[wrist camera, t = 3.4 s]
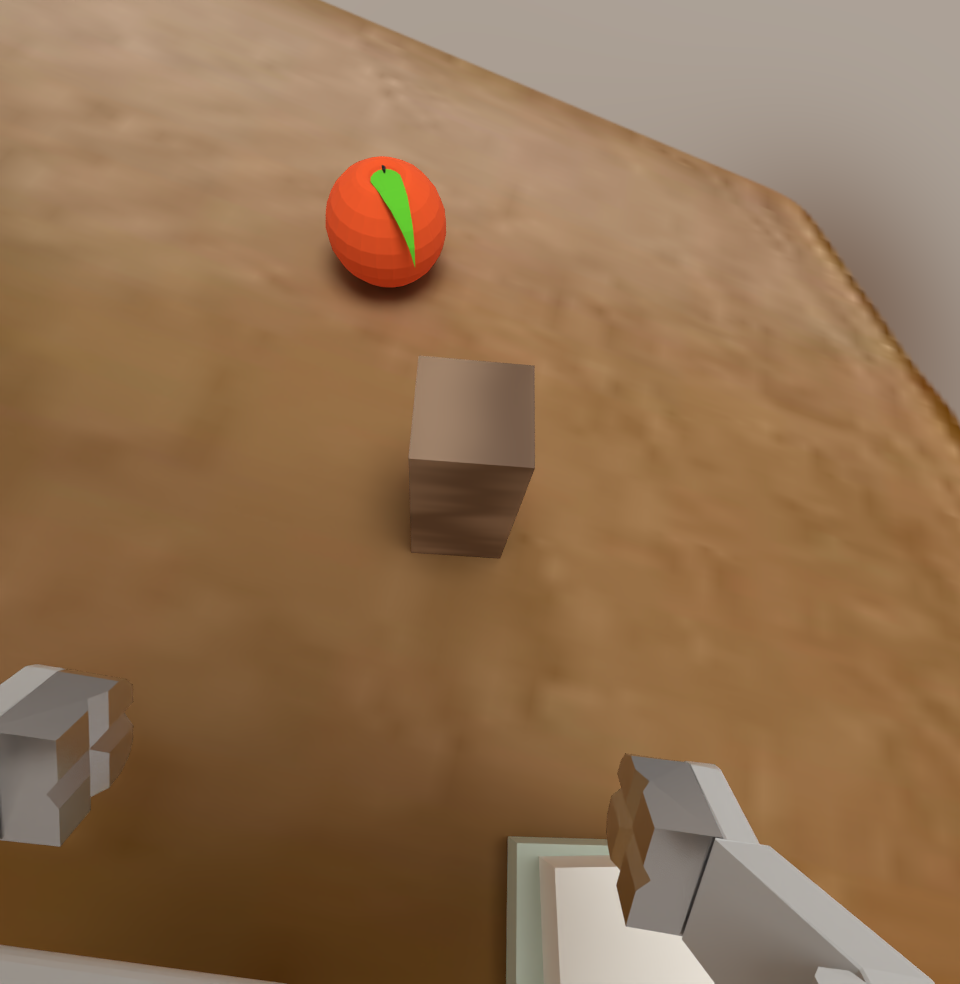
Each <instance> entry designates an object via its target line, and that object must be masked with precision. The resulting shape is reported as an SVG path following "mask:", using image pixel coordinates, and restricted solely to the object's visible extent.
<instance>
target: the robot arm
mask: <svg viewBox="0 0 960 984" xmlns="http://www.w3.org/2000/svg"><path fill="white" fill-rule="evenodd" d="M132 703H133V684H132V683H131V682H129V681H128V680H127V679H124V678H118V677H113V676H107V675H101V674H95V673H89V672H83V671H78V670H72V669H63V668H58V667H52V666H46V665H39V664H35V665H29V666H25V667H24V668H23V669H21V670H20V671H19V672H17V673H16V674H14V675H13V676H12V677H10V678H9V679H8V680H6V681H5V682H3V683H2V684H1V685H0V840H4V841H13V842H22V843H31V844H41V845H50V846H59V847H60V846H61V845H62V844H63V843H64V842H65V840H66V839H67V838H68V837H69V836H70V834H71V833H72V832H73V831H74V830H75V828H76V827H77V826H78V825H79V824H80V822H81V821H82V820H83V819H84V818H85V816H86V815H87V814H88V813H89V812H90V810H91V800H90V797H91V796H93V795H95V794H97V793H99V792H101V791H103V790H105V789H107V788H109V787H110V786H111V785H112V784H113V782H114V781H115V780H116V778H117V777H118V776H119V775H120V773H121V772H122V770H123V767H124V765H125V763H126V761H127V759H128V757H129V755H130V751H131V746H132V742H133V725H132V723H131V722H130V720H129V719H128V718H127V716H126V715H125V713H124V712H125V711H126V709H127V708H128V707H129V706H130V705H131V704H132ZM617 774H618V778H619V782H620V785H621V788H620V789H619V790H618V791H617V792H615V793H614V794H613V795H612V796H611V800H610V804H609V808H608V813H607V828H606V834H607V845H608V850H609V855H610V860H611V861H612V862H613V863H614V864H615V865H616V866H617V867H618V868H619V870H620V873H619V877H618V880H617V884H616V887H617V891H618V895H619V900H620V904H621V908H622V913H623V917H624V921H625V926H626V927H632V928H638V929H643V930H649V931H655V932H661V933H667V934H672V935H678V936H682V940H683V942H684V943H685V944H686V946H687V947H688V948H689V950H690V951H691V952H692V954H693V955H694V956H695V958H696V959H697V960H698V962H699V963H700V964H701V966H702V967H703V968H704V970H705V971H706V972H707V974H708V975H709V976H710V978H711V979H712V980H713V982H714V983H715V984H935V983H934V982H933V980H931V979H930V978H929V977H928V976H927V975H925V974H924V973H923V972H922V971H920V970H919V969H918V968H917V967H916V966H914V965H913V964H912V963H911V962H910V961H908V960H907V959H906V958H905V957H903V956H902V955H901V954H900V953H899V952H897V951H896V950H895V949H894V948H893V947H891V946H890V945H889V944H888V943H886V942H885V941H884V940H883V939H882V938H880V937H879V936H878V935H877V934H876V933H874V932H873V931H872V930H871V929H870V928H868V927H867V926H866V925H865V924H863V923H862V922H861V921H860V920H859V919H857V918H856V917H855V916H854V915H853V914H851V913H850V912H849V911H848V910H846V909H845V908H844V907H843V906H842V905H840V904H839V903H838V902H837V901H836V900H834V899H833V898H832V897H831V896H829V895H828V894H827V893H826V892H825V891H823V890H822V889H821V888H820V887H819V886H817V885H816V884H815V883H814V882H812V881H811V880H810V879H809V878H808V877H806V876H805V875H804V874H803V873H802V872H800V871H799V870H798V869H797V868H795V867H794V866H793V865H792V864H791V863H789V862H788V861H787V860H786V859H785V858H783V857H782V856H781V855H780V854H778V853H777V852H776V851H775V850H774V849H772V848H771V847H770V846H766V845H760V844H759V842H758V840H757V838H756V836H755V834H754V832H753V830H752V828H751V827H750V825H749V823H748V821H747V819H746V817H745V815H744V813H743V811H742V809H741V808H740V806H739V804H738V802H737V800H736V798H735V796H734V794H733V792H732V790H731V789H730V787H729V785H728V783H727V781H726V779H725V777H724V775H723V773H722V771H721V770H720V768H718V767H717V766H716V765H715V764H707V763H699V762H690V761H684V762H681V761H675V760H668V759H661V758H654V757H647V756H640V755H633V754H626V753H625V755H624V756H623V758H622V760H621V762H620V766H619V769H618V773H617ZM0 984H285V983H278V982H271V981H263V980H256V979H248V978H241V977H234V976H226V975H219V974H212V973H204V972H197V971H190V970H182V969H175V968H168V967H160V966H153V965H146V964H138V963H131V962H124V961H116V960H109V959H102V958H94V957H87V956H80V955H72V954H65V953H58V952H50V951H43V950H36V949H28V948H21V947H14V946H6V945H0Z"/></svg>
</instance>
